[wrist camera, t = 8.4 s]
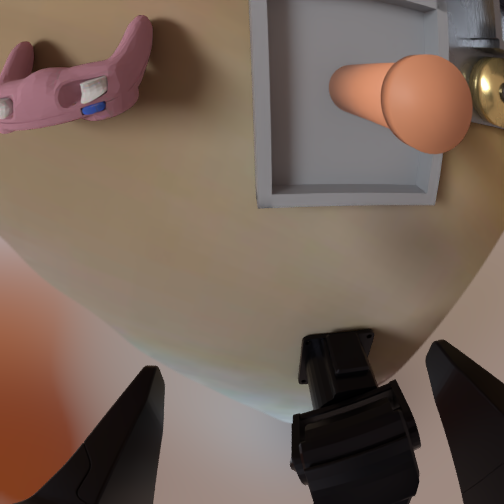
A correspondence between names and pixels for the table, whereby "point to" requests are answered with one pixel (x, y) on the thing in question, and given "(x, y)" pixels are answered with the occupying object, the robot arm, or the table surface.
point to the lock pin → (408, 99)
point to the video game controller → (73, 84)
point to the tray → (323, 108)
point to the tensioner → (479, 54)
